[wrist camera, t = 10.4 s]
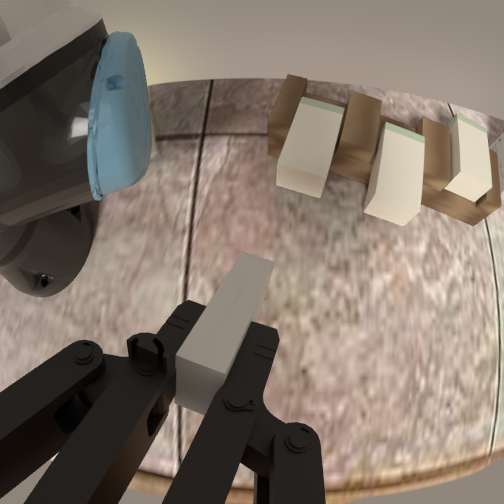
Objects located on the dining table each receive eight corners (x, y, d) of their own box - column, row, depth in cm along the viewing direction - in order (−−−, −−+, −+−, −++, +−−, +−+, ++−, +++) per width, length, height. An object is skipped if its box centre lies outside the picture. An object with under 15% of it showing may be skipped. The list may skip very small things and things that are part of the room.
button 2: (276, 185, 31) (277, 163, 27) (299, 120, 33) (301, 96, 29) (320, 198, 30) (326, 178, 26) (337, 131, 32) (344, 108, 28)
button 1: (444, 188, 30) (460, 171, 26) (443, 131, 32) (456, 112, 28) (474, 202, 29) (492, 187, 25) (471, 145, 31) (485, 128, 28)
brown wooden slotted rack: (268, 154, 37) (267, 120, 30) (286, 108, 39) (288, 73, 32) (473, 226, 33) (501, 205, 26) (473, 174, 35) (496, 151, 29)
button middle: (363, 212, 29) (375, 194, 26) (375, 143, 32) (385, 121, 28) (403, 226, 29) (420, 210, 25) (411, 157, 31) (424, 137, 27)
